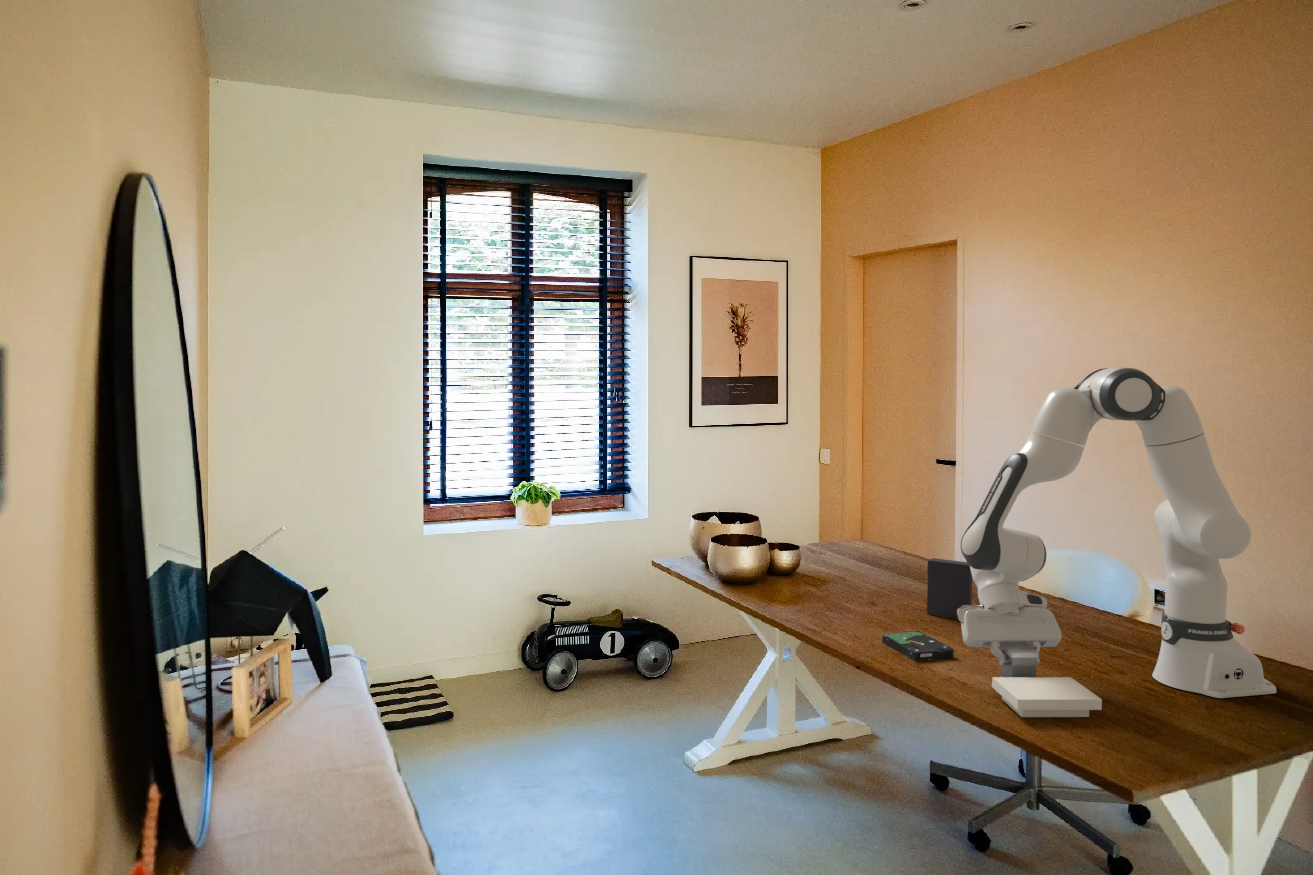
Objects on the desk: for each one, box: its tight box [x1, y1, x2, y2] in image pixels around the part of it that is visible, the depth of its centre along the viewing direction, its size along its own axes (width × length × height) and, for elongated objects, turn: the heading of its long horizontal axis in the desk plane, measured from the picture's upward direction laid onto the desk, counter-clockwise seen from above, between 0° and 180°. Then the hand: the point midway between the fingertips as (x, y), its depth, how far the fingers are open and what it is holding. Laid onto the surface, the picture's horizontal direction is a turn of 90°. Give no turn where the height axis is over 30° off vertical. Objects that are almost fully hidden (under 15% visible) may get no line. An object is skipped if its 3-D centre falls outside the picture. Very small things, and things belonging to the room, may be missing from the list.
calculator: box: [926, 557, 973, 620], centre depth 235 cm, size 11×4×15 cm, turn 58°
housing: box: [999, 644, 1040, 677], centre depth 183 cm, size 6×6×8 cm
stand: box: [991, 676, 1103, 718], centre depth 171 cm, size 16×12×4 cm
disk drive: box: [881, 630, 955, 662], centre depth 207 cm, size 10×3×15 cm
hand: (1020, 664), depth 182 cm, fingers closed on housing, 5 cm apart
